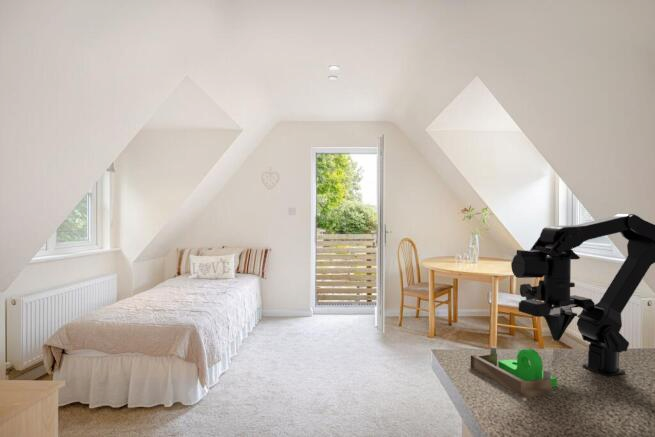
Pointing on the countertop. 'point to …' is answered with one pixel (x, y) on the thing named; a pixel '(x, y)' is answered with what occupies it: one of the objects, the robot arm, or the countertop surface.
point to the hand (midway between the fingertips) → (556, 340)
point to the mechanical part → (526, 366)
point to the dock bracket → (510, 376)
